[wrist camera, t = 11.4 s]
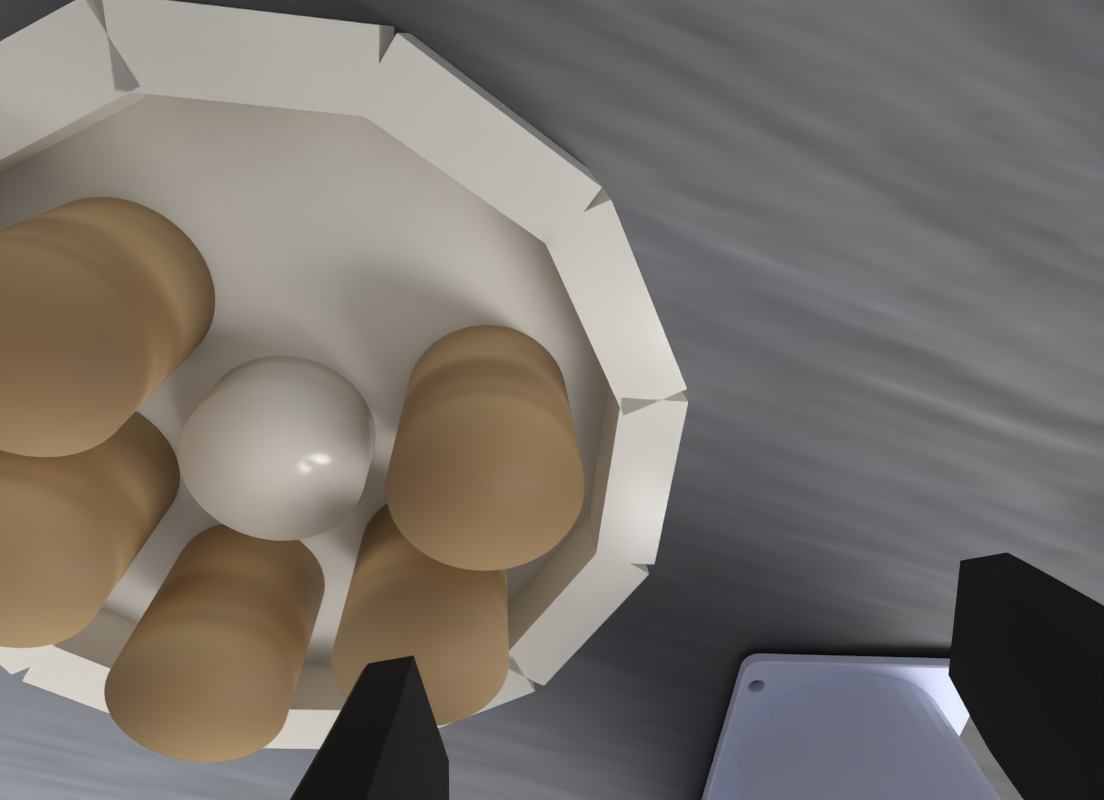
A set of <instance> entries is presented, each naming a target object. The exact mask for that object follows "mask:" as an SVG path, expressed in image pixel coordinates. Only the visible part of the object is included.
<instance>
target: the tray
mask: <svg viewBox="0 0 1104 800" xmlns="http://www.w3.org/2000/svg"><path fill="white" fill-rule="evenodd" d="M90 197H112V198H119V199H124V200H128V201H132V202H135V203H138V204H140V205H143V206H145V207H148V208H150V209H152V210H154V211H156V212H157V213H159V214H161V215H162V216H164V217H165V218H167V219H168V220H170V221H171V222H173V223H174V224H175V225H176V226H177V227H179V228H180V229H181V230H182V231H183V232H184V233H185V234H186V235H187V236H188V237H189V238H190V239H191V241H192V242H193V243H194V245H195V246H196V247H197V248H198V250H199V251H200V253H201V255H202V256H203V258H204V260H205V262H206V264H207V266H208V268H209V271H210V274H211V277H212V280H213V284H214V290H215V311H214V316H213V320H212V324H211V326H210V328H209V330H208V332H207V334H206V336H205V337H204V339H203V340H202V341H201V343H200V344H199V345H198V346H197V347H196V348H195V349H194V350H193V351H192V352H191V353H190V354H189V355H188V356H187V357H186V358H185V359H184V361H183V362H182V363H181V364H180V365H179V366H178V367H177V368H176V369H175V370H174V371H173V372H172V373H171V374H170V375H169V376H168V377H167V378H166V379H165V381H164V382H163V383H162V384H161V385H160V386H159V387H158V388H157V389H156V390H155V391H154V392H153V393H152V394H151V395H150V396H149V397H148V398H147V400H146V401H145V402H144V403H143V404H142V405H141V406H140V407H139V408H138V409H137V410H136V412H138V413H140V414H141V415H142V416H144V417H145V418H147V419H148V420H149V421H150V422H151V423H153V424H154V425H155V426H156V427H157V428H158V429H159V430H160V431H161V433H162V434H163V435H164V436H165V437H166V439H167V440H168V442H169V443H170V445H171V447H172V449H173V450H174V452H175V455H176V458H177V460H178V465H179V469H180V484H179V489H178V492H177V495H176V497H175V499H174V502H173V503H172V505H171V506H170V508H169V509H168V510H167V512H166V513H165V515H164V516H163V518H162V519H161V521H160V522H159V524H158V525H157V527H156V528H155V529H154V531H153V532H152V534H151V535H150V537H149V538H148V540H147V541H146V543H145V544H144V546H143V547H142V548H141V550H140V551H139V553H138V554H137V556H136V557H135V559H134V560H133V562H132V563H131V565H130V566H129V568H128V569H127V570H126V572H125V573H124V575H123V576H122V578H121V579H120V581H119V582H118V584H117V585H116V587H115V588H114V589H113V591H112V592H111V594H110V595H109V597H108V598H107V600H106V601H105V603H104V604H103V606H102V607H101V608H100V610H99V611H98V613H97V614H96V616H95V617H94V618H93V620H92V621H91V622H90V623H89V624H88V625H87V626H86V627H85V628H84V629H83V630H82V631H80V632H79V633H77V634H76V635H74V636H72V637H70V638H68V639H66V640H64V641H61V642H58V643H55V644H51V645H47V646H41V647H33V648H11V647H1V646H0V665H1V666H2V667H4V668H5V669H6V670H7V671H8V672H9V673H10V674H11V675H12V674H14V673H17V672H19V671H21V670H24V669H26V668H28V667H30V669H29V670H28V672H27V674H26V676H25V677H24V679H23V681H24V682H26V683H29V684H32V685H34V686H37V687H40V688H42V689H45V690H48V691H50V692H53V693H56V694H58V695H61V696H64V697H66V698H69V699H72V700H75V701H77V702H80V703H83V704H85V705H88V706H91V707H93V708H96V709H99V710H101V711H104V712H107V713H109V711H108V708H107V705H106V702H105V696H104V688H105V682H106V678H107V675H108V673H109V671H110V669H111V668H112V666H113V664H114V663H115V661H116V659H117V658H118V656H119V654H120V653H121V651H122V649H123V648H124V646H125V644H126V643H127V641H128V639H129V638H130V636H131V634H132V633H133V631H134V629H135V628H136V626H137V624H138V623H139V621H140V619H141V618H142V616H143V614H144V613H145V611H146V610H147V608H148V606H149V605H150V603H151V601H152V600H153V598H154V596H155V595H156V593H157V591H158V590H159V588H160V586H161V585H162V583H163V581H164V580H165V578H166V576H167V575H168V573H169V571H170V570H171V568H172V566H173V565H174V563H175V561H176V560H177V558H178V556H179V555H180V553H181V551H182V550H183V548H184V547H185V546H186V544H187V543H188V542H189V541H190V540H191V539H192V538H194V537H195V536H196V535H198V534H199V533H201V532H203V531H205V530H207V529H209V528H211V527H214V526H217V525H221V524H224V525H226V526H228V527H230V528H231V529H233V530H236V531H238V532H241V533H243V534H246V535H249V536H253V537H256V538H261V539H267V540H277V541H290V540H299V541H301V542H302V543H303V544H304V545H305V546H306V547H308V548H309V550H310V551H311V552H312V553H313V554H314V556H315V557H316V559H317V560H318V562H319V564H320V566H321V568H322V571H323V574H324V580H325V591H324V596H323V600H322V603H321V606H320V610H319V613H318V616H317V619H316V623H315V626H314V629H313V633H312V636H311V639H310V643H309V646H308V649H307V653H306V656H305V659H304V663H303V666H302V669H301V672H300V676H299V679H298V682H297V686H296V689H295V692H294V696H293V699H292V702H291V706H290V709H289V712H288V716H287V719H286V722H285V724H284V726H283V728H282V730H281V731H280V733H279V734H278V735H277V736H276V737H275V739H274V740H273V741H272V742H270V743H269V744H268V745H267V746H265V747H264V748H288V749H320V747H321V745H322V744H323V742H324V740H325V738H326V737H327V735H328V733H329V731H330V729H331V728H332V726H333V724H334V722H335V720H336V718H337V717H338V715H339V713H340V711H341V709H342V707H343V705H344V704H345V702H346V700H347V698H346V697H345V695H344V694H343V693H342V692H341V690H340V689H339V687H338V685H337V683H336V681H335V678H334V676H333V671H332V666H331V657H332V651H333V646H334V643H335V639H336V635H337V631H338V627H339V624H340V620H341V616H342V612H343V609H344V605H345V601H346V597H347V594H348V590H349V586H350V582H351V579H352V575H353V571H354V567H355V564H356V560H357V556H358V552H359V549H360V545H361V541H362V537H363V534H364V531H365V528H366V526H367V524H368V523H369V521H370V519H371V518H372V517H373V515H374V514H375V513H376V512H377V511H378V510H379V509H380V508H381V507H383V506H384V505H385V504H387V499H386V488H385V485H386V475H387V471H388V467H389V463H390V458H391V454H392V450H393V446H394V442H395V438H396V434H397V429H398V425H399V421H400V417H401V413H402V409H403V405H404V401H405V396H406V392H407V388H408V384H409V380H410V377H411V374H412V371H413V369H414V367H415V365H416V363H417V362H418V360H419V358H420V357H421V356H422V355H423V353H424V352H425V351H426V350H427V349H428V348H429V347H430V346H431V345H432V344H433V343H435V342H436V341H438V340H439V339H440V338H442V337H444V336H446V335H448V334H450V333H451V332H454V331H457V330H460V329H463V328H467V327H472V326H480V325H494V326H501V327H507V328H510V329H514V330H517V331H519V332H521V333H524V334H526V335H528V336H529V337H531V338H533V339H535V340H536V341H537V342H538V343H540V344H541V345H542V346H543V347H544V348H545V349H546V350H547V351H548V352H549V353H550V354H551V355H552V357H553V358H554V359H555V361H556V362H557V364H558V366H559V368H560V370H561V372H562V375H563V378H564V382H565V386H566V391H567V396H568V401H569V406H570V411H571V416H572V421H573V425H574V430H575V435H576V440H577V445H578V450H579V455H580V460H581V465H582V470H583V475H584V486H585V489H584V499H583V503H582V507H581V510H580V513H579V515H578V517H577V520H576V521H575V523H574V525H573V526H572V528H571V529H570V531H569V532H568V533H567V535H566V536H565V537H564V538H563V539H562V540H561V541H560V542H559V543H558V544H557V545H556V546H555V547H553V548H552V549H551V550H549V551H548V552H547V553H545V554H543V555H542V556H540V557H538V558H536V559H534V560H532V561H530V562H527V563H525V564H522V565H519V566H516V567H511V568H507V598H508V643H509V668H508V674H507V677H506V680H505V682H504V684H503V686H502V688H501V690H500V691H499V693H498V694H497V695H496V697H495V698H494V699H493V700H492V701H491V702H490V703H489V704H487V705H486V706H485V707H484V708H483V709H481V710H479V711H478V712H476V713H475V714H477V713H480V712H482V711H485V710H488V709H490V708H493V707H496V706H498V705H501V704H503V703H506V702H509V701H511V700H514V699H517V698H519V697H522V696H525V695H527V694H530V693H532V692H535V682H536V683H538V684H541V685H543V686H544V685H545V684H546V683H547V682H548V681H549V680H550V679H551V678H552V677H553V676H554V674H555V673H556V672H557V671H558V670H559V669H560V668H561V667H562V666H563V665H564V664H565V663H566V662H567V661H568V660H569V659H570V658H571V656H572V655H573V654H574V653H575V652H576V651H577V650H578V649H579V648H580V647H581V646H582V645H583V644H584V643H585V642H586V641H587V639H588V638H589V637H590V636H591V635H592V634H593V633H594V632H595V631H596V630H597V629H598V628H599V627H600V626H601V625H602V624H603V622H604V621H605V620H606V619H607V618H608V617H609V616H610V615H611V614H612V613H613V612H614V611H615V610H616V609H617V608H618V607H619V606H620V604H621V603H622V602H623V601H624V600H625V599H626V598H627V597H628V596H629V595H630V594H631V593H632V592H633V591H634V590H635V589H636V587H637V586H638V585H639V584H640V583H641V582H642V581H643V580H644V579H645V578H646V577H647V576H648V575H649V572H648V569H647V565H646V564H655V560H656V555H657V550H658V545H659V540H660V536H661V531H662V526H663V521H664V516H665V511H666V507H667V502H668V497H669V492H670V487H671V483H672V478H673V473H674V468H675V463H676V458H677V454H678V449H679V444H680V439H681V434H682V430H683V425H684V420H685V415H686V410H687V405H688V400H687V399H686V397H685V395H684V393H683V391H684V390H686V389H687V388H686V385H685V383H684V380H683V378H682V375H681V373H680V370H679V368H678V365H677V363H676V360H675V358H674V355H673V353H672V350H671V348H670V345H669V343H668V340H667V338H666V335H665V333H664V330H663V328H662V325H661V323H660V320H659V318H658V315H657V313H656V310H655V308H654V305H653V303H652V300H651V298H650V295H649V293H648V290H647V288H646V285H645V283H644V280H643V278H642V275H641V273H640V270H639V268H638V265H637V263H636V260H635V258H634V255H633V253H632V250H631V248H630V245H629V243H628V240H627V238H626V236H625V233H624V231H623V228H622V226H621V223H620V221H619V218H618V216H617V213H616V211H615V208H614V206H613V203H612V201H611V199H610V197H609V196H608V195H607V193H606V192H605V190H604V189H603V188H602V186H601V185H600V183H599V182H598V181H597V180H596V178H595V177H594V176H593V174H592V173H591V171H590V170H589V169H588V168H587V167H586V166H584V165H583V164H582V163H580V162H579V161H578V160H576V159H575V158H574V157H572V156H571V155H570V154H568V153H567V152H566V151H565V150H563V149H562V148H561V147H559V146H558V145H557V144H555V143H554V142H553V141H551V140H550V139H549V138H547V137H546V136H545V135H543V134H542V133H541V132H540V131H538V130H537V129H536V128H534V127H533V126H532V125H530V124H529V123H528V122H526V121H525V120H524V119H522V118H521V117H520V116H518V115H517V114H516V113H514V112H513V111H512V110H511V109H509V108H508V107H507V106H505V105H504V104H503V103H501V102H500V101H499V100H497V99H496V98H495V97H493V96H492V95H491V94H489V93H488V92H487V91H486V90H484V89H483V88H482V87H480V86H479V85H478V84H476V83H475V82H474V81H472V80H471V79H470V78H468V77H467V76H466V75H464V74H463V73H462V72H460V71H459V70H458V69H457V68H455V67H454V66H453V65H451V64H450V63H449V62H447V61H446V60H445V59H443V58H442V57H441V56H439V55H438V54H437V53H435V52H434V51H433V50H432V49H430V48H429V47H428V46H426V45H425V44H424V43H422V42H421V41H420V40H418V39H417V38H416V37H414V36H413V35H412V34H410V33H397V34H396V36H395V37H394V26H386V25H378V24H369V23H361V22H352V21H344V20H335V19H327V18H318V17H310V16H301V15H293V14H284V13H276V12H267V11H259V10H250V9H242V8H233V7H225V6H216V5H208V4H199V3H191V2H182V1H174V0H75V1H73V2H71V3H69V4H67V5H65V6H64V7H62V8H60V9H58V10H56V11H54V12H53V13H51V14H49V15H47V16H45V17H44V18H42V19H40V20H38V21H36V22H34V23H33V24H31V25H29V26H27V27H25V28H23V29H22V30H20V31H18V32H16V33H14V34H13V35H11V36H9V37H7V38H5V39H3V40H2V41H0V230H1V229H4V228H6V227H9V226H11V225H14V224H16V223H19V222H21V221H24V220H27V219H29V218H32V217H34V216H37V215H39V214H42V213H44V212H47V211H49V210H52V209H54V208H57V207H59V206H62V205H64V204H67V203H69V202H72V201H75V200H79V199H83V198H90ZM109 714H110V713H109ZM473 715H474V714H473ZM471 716H472V715H471ZM449 724H451V723H449ZM445 725H448V724H445ZM445 725H440V726H437V727H438V728H440V727H443V726H445Z"/></svg>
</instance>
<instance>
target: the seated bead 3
mask: <svg viewBox="0 0 1104 800" xmlns="http://www.w3.org/2000/svg"><path fill="white" fill-rule="evenodd" d="M324 591H325V580H324V574H323V571H322V568H321V566H320V564H319V562H318V560H317V559H316V557H315V556H314V554H313V553H312V552H311V551H310V550H309V548H308V547H306V546H305V545H304V544H303V543H302V542H301V541H299V540H290V541H277V540H267V539H261V538H256V537H253V536H249V535H246V534H243V533H241V532H238V531H236V530H233V529H231V528H230V527H228V526H226V525H224V524H221V525H217V526H214V527H211V528H209V529H207V530H205V531H203V532H201V533H199V534H198V535H196V536H195V537H194V538H192V539H191V540H190V541H189V542H188V543H187V544H186V546H185V547H184V548H183V550H182V551H181V553H180V555H179V556H178V558H177V560H176V561H175V563H174V565H173V566H172V568H171V570H170V571H169V573H168V575H167V576H166V578H165V580H164V581H163V583H162V585H161V586H160V588H159V590H158V591H157V593H156V595H155V596H154V598H153V600H152V601H151V603H150V605H149V606H148V608H147V610H146V611H145V613H144V614H143V616H142V618H141V619H140V621H139V623H138V624H137V626H136V628H135V629H134V631H133V633H132V634H131V636H130V638H129V639H128V641H127V643H126V644H125V646H124V648H123V649H122V651H121V653H120V654H119V656H118V658H117V659H116V661H115V663H114V664H113V666H112V668H111V669H110V671H109V673H108V675H107V678H106V682H105V688H104V696H105V702H106V705H107V708H108V711H109V713H110V715H111V717H112V718H113V720H114V721H115V722H116V724H117V725H118V726H119V727H120V728H121V729H122V730H123V732H124V733H126V734H127V735H128V736H129V737H130V738H132V739H133V740H135V741H136V742H138V743H139V744H141V745H142V746H144V747H146V748H148V749H150V750H152V751H155V752H157V753H159V754H162V755H165V756H168V757H171V758H176V759H180V760H185V761H193V762H222V761H229V760H234V759H238V758H242V757H245V756H248V755H250V754H252V753H255V752H257V751H259V750H260V749H262V748H264V747H265V746H267V745H268V744H269V743H270V742H272V741H273V740H274V739H275V737H276V736H277V735H278V734H279V733H280V731H281V730H282V728H283V726H284V724H285V722H286V719H287V716H288V712H289V709H290V706H291V702H292V699H293V696H294V692H295V689H296V686H297V682H298V679H299V676H300V672H301V669H302V666H303V663H304V659H305V656H306V653H307V649H308V646H309V643H310V639H311V636H312V633H313V629H314V626H315V623H316V619H317V616H318V613H319V610H320V606H321V603H322V600H323V596H324Z"/></svg>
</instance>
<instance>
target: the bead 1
mask: <svg viewBox="0 0 1104 800" xmlns="http://www.w3.org/2000/svg"><path fill="white" fill-rule="evenodd" d="M385 488H386V499H387V504H388V508H389V511H390V514H391V516H392V519H393V520H394V522H395V524H396V526H397V528H398V529H399V530H400V532H401V533H402V534H403V536H404V537H405V538H406V539H407V540H408V541H409V542H410V543H411V544H412V545H413V546H415V547H416V548H417V549H418V550H420V551H421V552H422V553H424V554H426V555H427V556H429V557H431V558H433V559H435V560H437V561H439V562H441V563H444V564H447V565H450V566H453V567H457V568H462V569H467V570H477V571H492V570H501V569H507V568H511V567H516V566H519V565H522V564H525V563H527V562H530V561H532V560H534V559H536V558H538V557H540V556H542V555H543V554H545V553H547V552H548V551H549V550H551V549H552V548H553V547H555V546H556V545H557V544H558V543H559V542H560V541H561V540H562V539H563V538H564V537H565V536H566V535H567V533H568V532H569V531H570V529H571V528H572V526H573V525H574V523H575V521H576V520H577V517H578V515H579V513H580V510H581V507H582V503H583V499H584V489H585V486H584V475H583V470H582V465H581V460H580V455H579V450H578V445H577V440H576V435H575V430H574V425H573V421H572V416H571V411H570V406H569V401H568V396H567V391H566V386H565V382H564V378H563V375H562V372H561V370H560V368H559V366H558V364H557V362H556V361H555V359H554V358H553V357H552V355H551V354H550V353H549V352H548V351H547V350H546V349H545V348H544V347H543V346H542V345H541V344H540V343H538V342H537V341H536V340H535V339H533V338H531V337H529V336H528V335H526V334H524V333H521V332H519V331H517V330H514V329H510V328H507V327H501V326H494V325H480V326H472V327H467V328H463V329H460V330H457V331H454V332H451V333H450V334H448V335H446V336H444V337H442V338H440V339H439V340H438V341H436V342H435V343H433V344H432V345H431V346H430V347H429V348H428V349H427V350H426V351H425V352H424V353H423V355H422V356H421V357H420V358H419V360H418V362H417V363H416V365H415V367H414V369H413V371H412V374H411V377H410V380H409V384H408V388H407V392H406V396H405V401H404V405H403V409H402V413H401V417H400V421H399V425H398V429H397V434H396V438H395V442H394V446H393V450H392V454H391V458H390V463H389V467H388V471H387V475H386V485H385Z"/></svg>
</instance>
